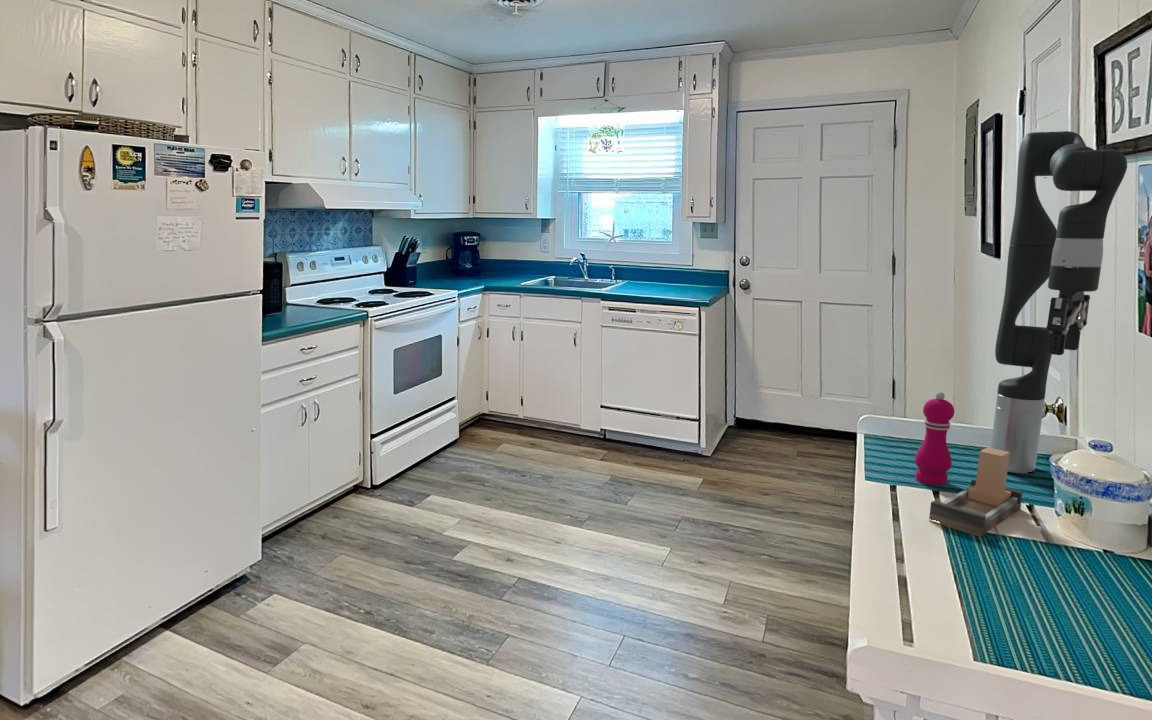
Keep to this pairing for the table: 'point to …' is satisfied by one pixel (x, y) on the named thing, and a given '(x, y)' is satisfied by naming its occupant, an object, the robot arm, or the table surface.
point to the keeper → (991, 478)
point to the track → (974, 512)
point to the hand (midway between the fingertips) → (1063, 352)
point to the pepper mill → (935, 442)
